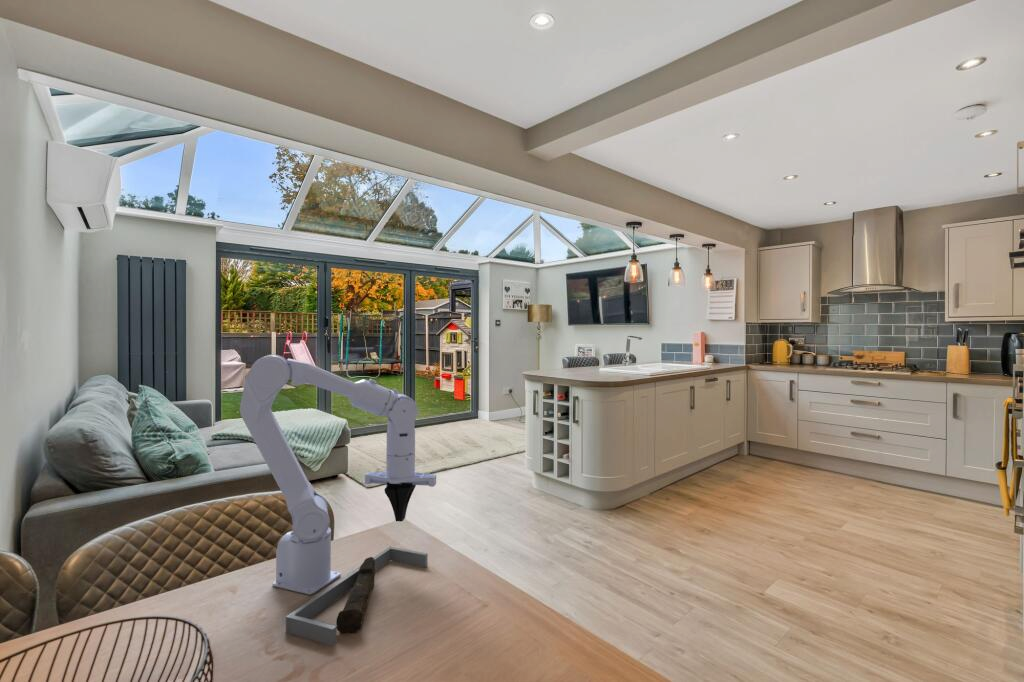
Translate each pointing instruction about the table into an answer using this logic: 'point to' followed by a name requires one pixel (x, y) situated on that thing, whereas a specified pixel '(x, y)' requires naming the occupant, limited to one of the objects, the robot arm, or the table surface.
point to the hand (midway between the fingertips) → (400, 519)
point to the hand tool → (357, 599)
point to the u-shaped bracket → (326, 633)
